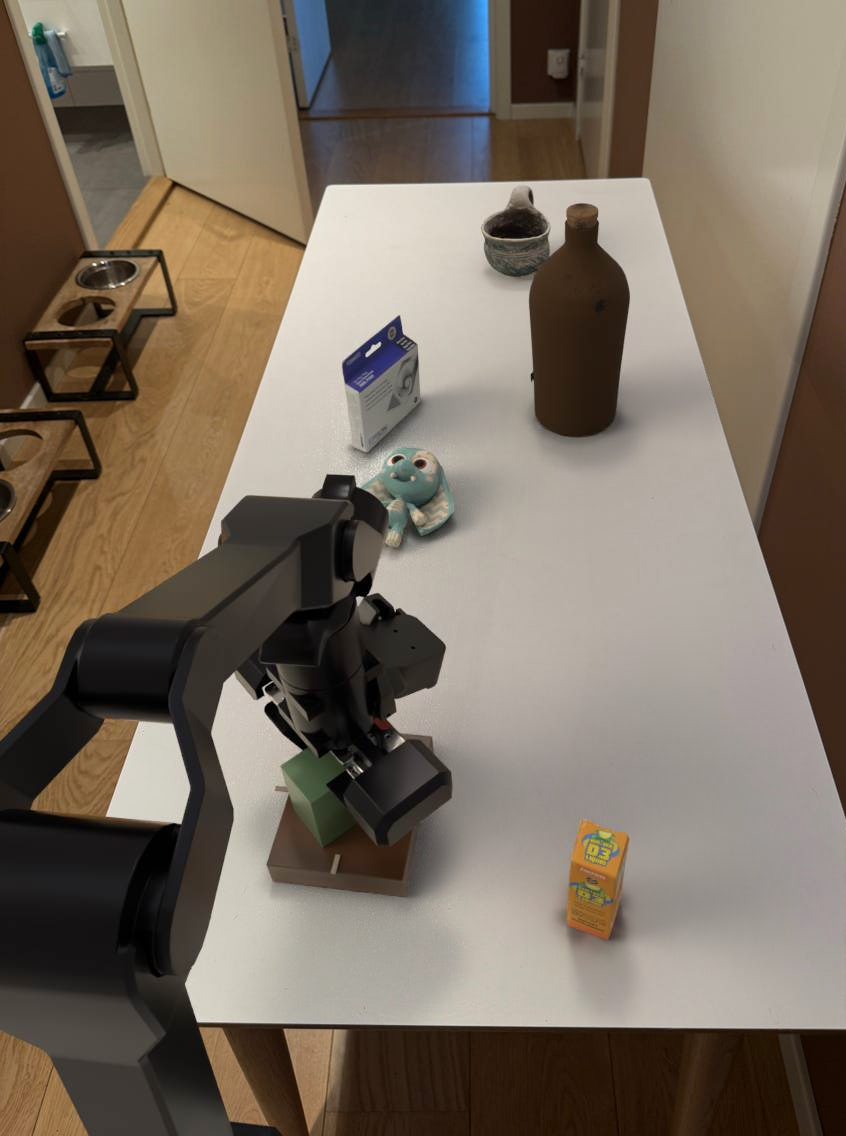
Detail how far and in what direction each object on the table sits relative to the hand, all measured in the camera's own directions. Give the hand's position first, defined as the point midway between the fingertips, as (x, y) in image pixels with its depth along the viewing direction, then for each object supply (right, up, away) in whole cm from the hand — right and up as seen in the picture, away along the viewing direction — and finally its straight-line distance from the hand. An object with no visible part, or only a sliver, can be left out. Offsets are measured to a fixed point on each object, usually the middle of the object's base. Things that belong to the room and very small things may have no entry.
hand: (352, 787), depth 71 cm
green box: (0, -1, +1) cm, 1 cm away
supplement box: (+18, -8, -4) cm, 20 cm away
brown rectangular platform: (0, -3, +2) cm, 4 cm away
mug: (+15, +55, +67) cm, 88 cm away
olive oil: (+21, +31, +40) cm, 55 cm away
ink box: (-1, +30, +40) cm, 50 cm away
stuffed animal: (+2, +20, +28) cm, 34 cm away
